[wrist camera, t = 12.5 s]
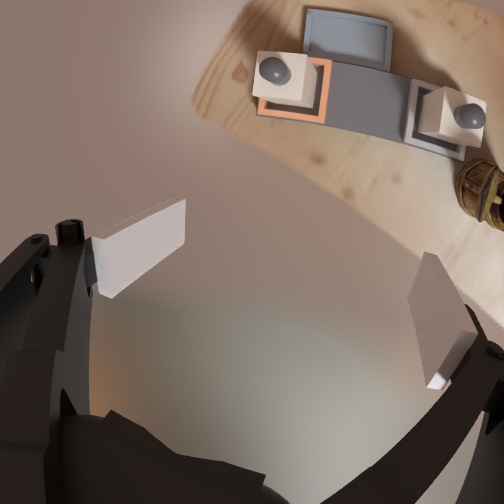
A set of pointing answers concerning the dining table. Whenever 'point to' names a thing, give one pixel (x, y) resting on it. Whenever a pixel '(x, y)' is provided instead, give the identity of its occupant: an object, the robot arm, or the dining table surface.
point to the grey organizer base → (366, 106)
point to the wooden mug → (482, 192)
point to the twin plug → (452, 117)
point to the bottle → (285, 78)
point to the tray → (348, 39)
